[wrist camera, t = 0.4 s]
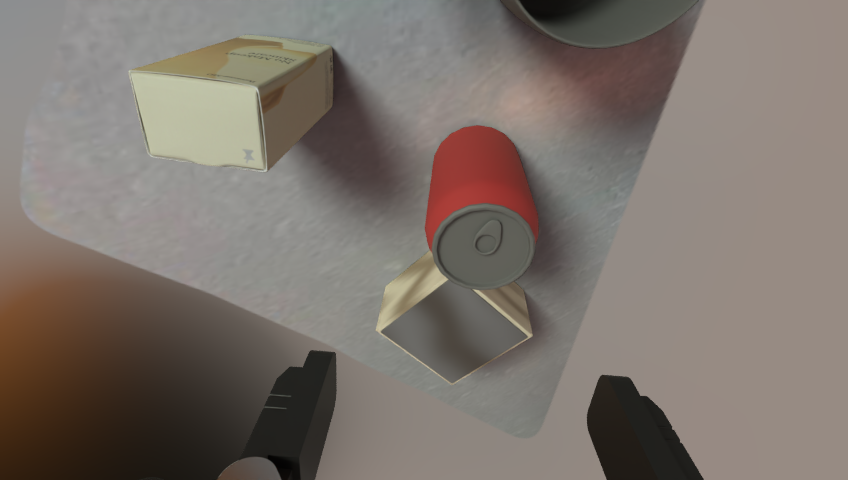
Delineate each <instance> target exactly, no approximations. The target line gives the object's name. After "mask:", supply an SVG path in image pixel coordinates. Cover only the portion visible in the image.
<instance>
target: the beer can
mask: <svg viewBox="0 0 848 480" xmlns="http://www.w3.org/2000/svg"><path fill="white" fill-rule="evenodd" d="M425 232H426V237H427V242H428V245H429V249H430V251H431V252H432V254H433V259H434V263H435V264H436V266H437V267H438V269H439V271H440V272H441V274H443V275H444V276H445V277H446V278H447V279H449V280H450V281H451V282H452V283H455V284H457V285H459V286H462V287H464V288H467V289H474V290H491V289H497V288H500V287H503V286H506V285H508V284H511V283H512V282H514V281H515V280H516V279H518V278H519V277H521V276H522V275H523V274H524V273H525V271H526V270H527V269H528V268H529V266H530V265H531V263H532V260H533V257H534V254H535V244H536V241H537V238H538V233H539V225H538V213H537V210H536V207H535V204H534V201H533V198H532V195H531V192H530V188H529V185H528V182H527V179H526V176H525V173H524V170H523V167H522V164H521V161H520V158H519V155H518V152H517V150H516V148H515V146H514V144H513V143H512V141H511V140H510V139H509V138H508V137H507V136H506V135H505V134H503V133H502V132H500V131H498V130H496V129H494V128H491V127H485V126H479V125H477V126H471V127H464V128H462V129H460V130H458V131H456V132H454V133H452V134H450V135H449V136H448V137H447V138H446V139H445V140H444V141H443V142H442V143H441V144H440V146H439V148H438V150H437V152H436V154H435V156H434V162H433V169H432V176H431V184H430V192H429V200H428V208H427V215H426V223H425Z"/></svg>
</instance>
